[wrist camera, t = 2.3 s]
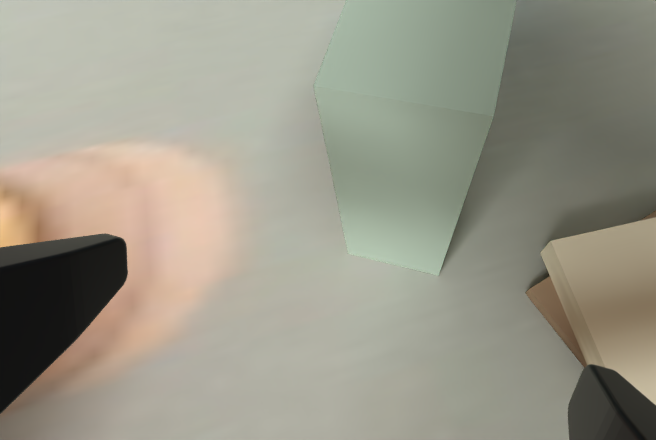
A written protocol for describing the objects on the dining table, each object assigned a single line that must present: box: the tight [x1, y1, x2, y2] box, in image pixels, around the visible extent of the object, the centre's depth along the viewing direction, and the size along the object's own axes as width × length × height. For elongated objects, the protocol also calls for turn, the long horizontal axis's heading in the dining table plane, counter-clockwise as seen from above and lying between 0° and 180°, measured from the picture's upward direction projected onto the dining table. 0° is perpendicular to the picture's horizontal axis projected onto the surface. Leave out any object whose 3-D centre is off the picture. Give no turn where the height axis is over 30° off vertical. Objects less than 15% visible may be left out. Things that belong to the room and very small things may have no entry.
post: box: [314, 0, 517, 276], centre depth 18 cm, size 4×4×12 cm
